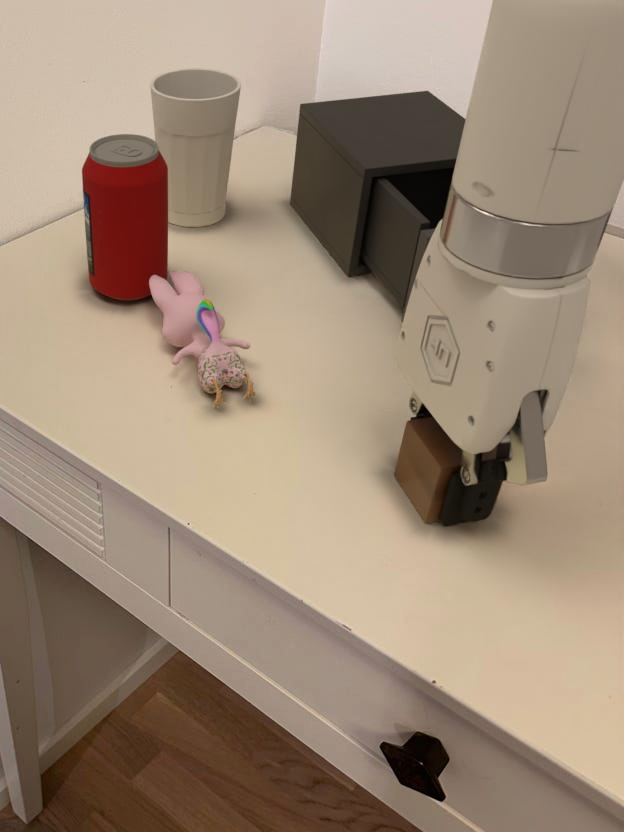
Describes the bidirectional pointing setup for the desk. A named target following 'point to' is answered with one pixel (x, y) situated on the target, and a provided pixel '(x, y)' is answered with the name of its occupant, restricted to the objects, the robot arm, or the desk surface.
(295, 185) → the cabinet
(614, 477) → the desk surface
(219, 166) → the cup
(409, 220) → the drawer
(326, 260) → the desk surface
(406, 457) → the block
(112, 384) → the desk surface
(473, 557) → the desk surface
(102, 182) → the beverage can
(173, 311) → the rabbit figure
